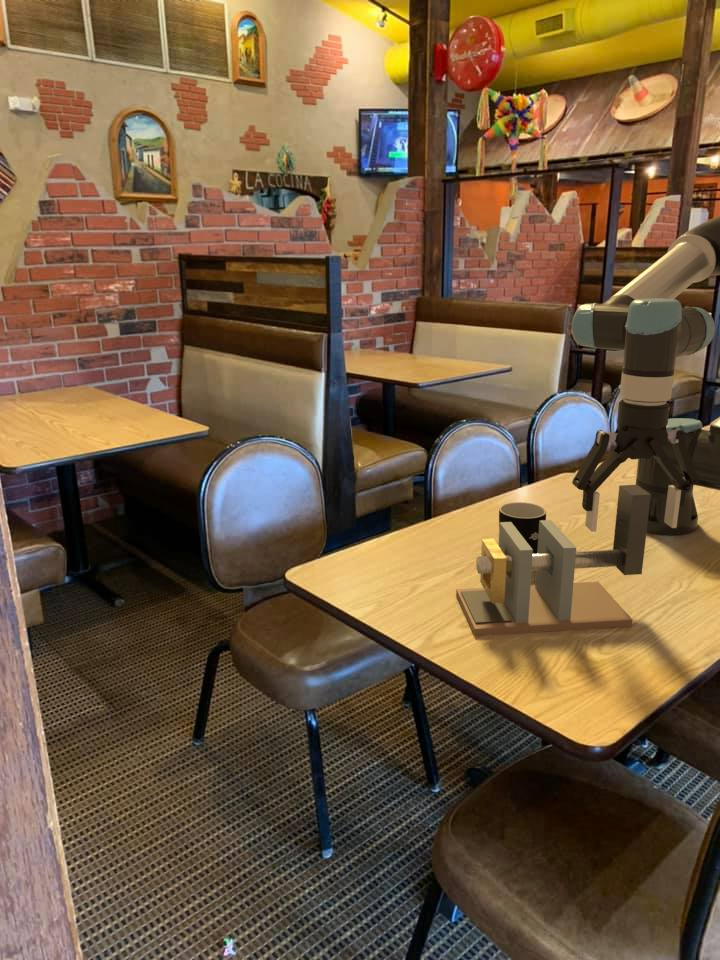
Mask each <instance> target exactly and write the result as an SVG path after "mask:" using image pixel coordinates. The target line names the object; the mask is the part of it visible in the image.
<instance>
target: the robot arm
mask: <svg viewBox="0 0 720 960" xmlns="http://www.w3.org/2000/svg"><path fill="white" fill-rule="evenodd" d="M711 276H720V216H716V217H713V218H711V219H708V220H707V221H705V222H702V223H700V224H698V225H696V226H694V227H693V228H691V229H689V230H687V231H686V232H684V233H683V234H682V235H680V236H679V237H678V238H676V239H675V240H673V242H672V243H671V244H670V246H669V247H668V249H667V252H666V253H665V254H664V255H663V256H661V257H660V258H658V260H656V261H655V262H653V264H652V265H650V266H649V267H648V268H646V269H645V270H644V271H643V272H641V273H640V274H639V275H638V276H636V277H635V278H633V279H632V280H631V281H630V282H629V283H627V284H626V285H625V286H624V287H622V288H621V289H620V290H618V291H617V292H616V293H615V294H613V295H612V296H611V297H610V298H609V299H607V300H606V301H604V302H603V303H598V302H594V303H584V304H582V305H580V306H579V307H578V308H576V311H575V312H574V315H573V317H572V322H571V332H572V333H571V335H572V338H573V341H575V343H576V344H577V345H579V346H582V347H587V348H593V349H594V350H595V349H596V350H597V349H603V350H616V351H623V362H622V370H621V378H620V389H619V397H620V398H621V400H620V401H619V402H618V408H617V416H616V417H617V418H616V424H617V425H616V429H615V431H614V432H610V431H609V432H607V431H604V430H602V429H599V430H596V434H595V437H594V443H593V445H592V447H591V448H590V450H589V451H588V453H587V455H586V457H585V458H584V460H583V462H582V463H581V466H580V467H579V469H578V471H577V473H575V476H574V478H573V479H572V482H571V483H572V485H573V486H575V487H576V488H577V489H578V490H579V491H582V502H581V507H582V509H584V511H586V513H585V514H586V515H585V524H584V525H585V527H586V528H587V529H588V530H589V531H591V532H592V533H593V532H597V526H598V515H599V505H600V495H601V494H600V493H599V492H598V491H597V490H598V489H599V488H600V486H601V485H603V483H604V482H605V481H607V479H608V478H609V477H610V475H612V474H613V473H614V472H615V470H617V468H618V467H619V466H620V465H622V464H623V463H625V462H627V460H628V459H630V460H637V469H636V478H635V485H638V486H639V487H641V488H642V489H644V490H645V491H647V492H648V493H649V494H651V498H650V507H649V515H648V524H647V533H650V534H651V533H652V534H656V535H664V536H665V535H668V536H671V535H672V536H674V535H677V536H678V535H679V536H680V535H686V534H689V533H692V532H694V531H696V529H697V528H698V522H699V516H698V515H699V514H698V511H697V506H696V502H695V498H694V494H693V493H694V486H698V487H701V488H702V487H703V488H706V489H712V490H716V491H720V416H719V417H718V418H716V419H714V420H713V421H712V422H710V424H709V425H710V426H709V430H707V429H703V423H702V421H701V420H699V419H695V418H689V417H688V418H681V417H680V418H677V417H675V418H669V415H670V409H671V405H670V404H669V401H670V400H672V394H673V393H672V392H673V384H674V383H673V382H674V373H675V364H676V359H677V358H678V357H684V356H690V355H694V354H696V353H697V352H699V351H702V350H704V349H705V348H706V347H708V346H709V345H710V343H711V342H712V340H713V338H714V335H715V332H716V325H715V324H716V323H715V322H714V319H713V317H712V315H711V314H710V313H709V312H708V311H707V310H706V309H704V308H701V307H698V306H697V307H695V306H682V303H681V301H679V299H678V300H677V299H676V298H677V297H678V296H679V295H680V294H682V293H683V292H684V291H685V290H686V289H687V288H688V287H690V286H691V285H692V284H694V283H699V282H702V281H704V280H706V279H707V278H708V277H711ZM613 442H615V444H616V445H615V446H614V447H613V448H612V449H611V451H610V452H609V455H608V456H607V457H606V458H605V459H604V460H603V461H602V459H603V457H604V455H605V454H606V452H607V450H608V447H609V446H611V445H612V443H613ZM601 461H602V462H601ZM600 462H601V463H600Z"/></svg>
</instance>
